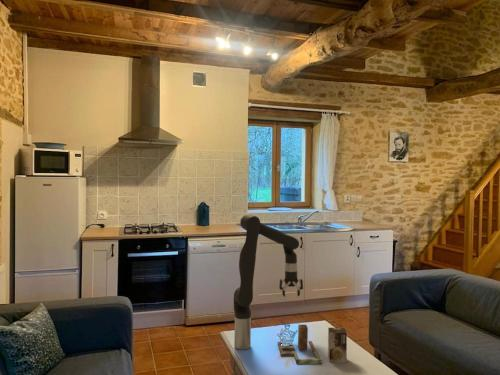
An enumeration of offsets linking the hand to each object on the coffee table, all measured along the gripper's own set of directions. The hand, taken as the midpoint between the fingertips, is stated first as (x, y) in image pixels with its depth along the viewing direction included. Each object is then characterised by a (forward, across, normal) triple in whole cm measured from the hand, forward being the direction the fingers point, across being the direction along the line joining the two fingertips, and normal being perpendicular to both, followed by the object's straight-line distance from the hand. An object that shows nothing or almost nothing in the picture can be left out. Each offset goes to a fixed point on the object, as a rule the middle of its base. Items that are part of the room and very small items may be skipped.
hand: (291, 296), depth 225 cm
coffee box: (+25, +20, -30) cm, 44 cm away
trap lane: (+24, +1, -23) cm, 33 cm away
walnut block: (+24, +4, -18) cm, 31 cm away
